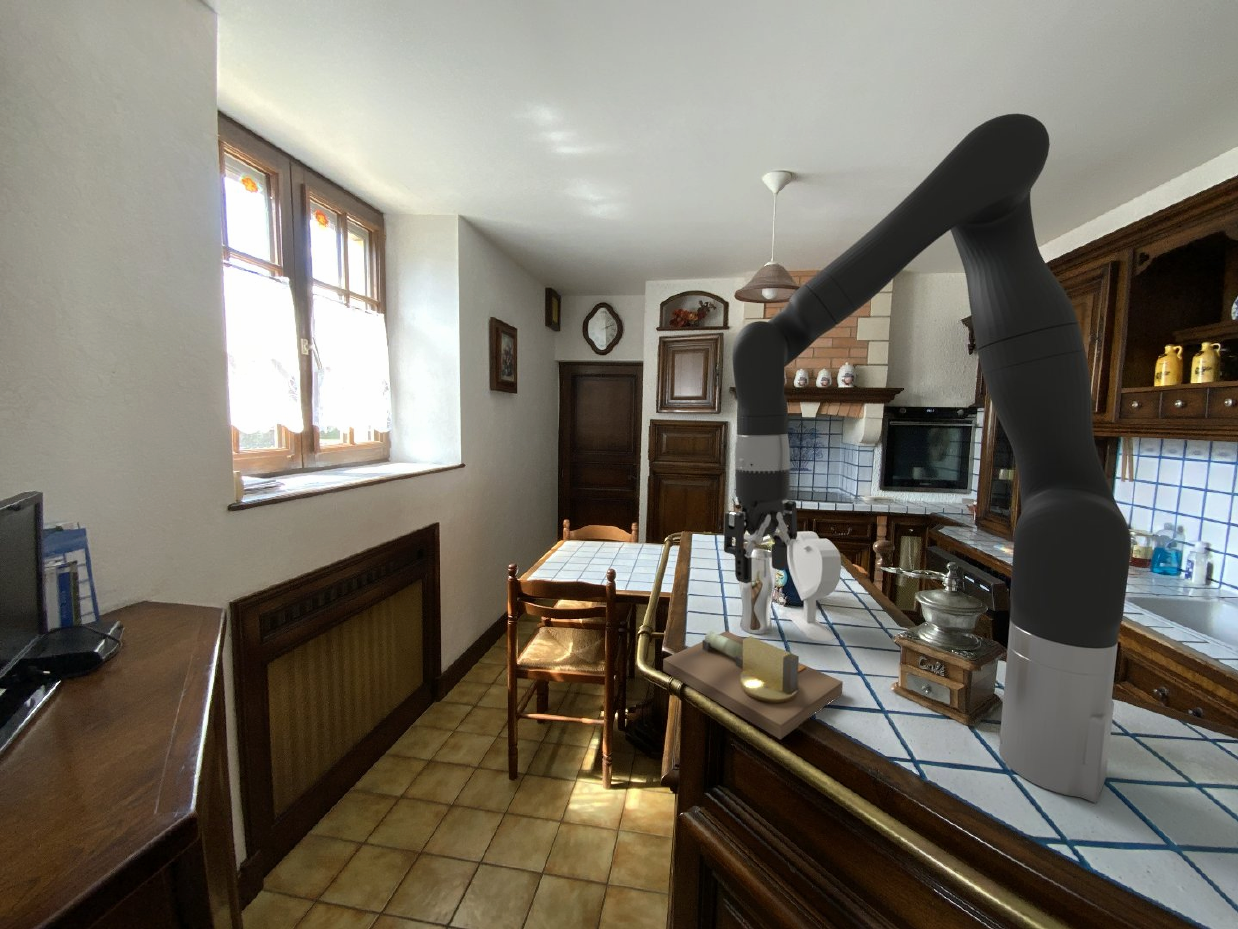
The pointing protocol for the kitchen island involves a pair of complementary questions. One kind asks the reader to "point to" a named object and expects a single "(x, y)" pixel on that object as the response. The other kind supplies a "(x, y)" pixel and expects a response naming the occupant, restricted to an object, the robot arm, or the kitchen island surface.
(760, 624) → the beer glass
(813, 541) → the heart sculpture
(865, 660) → the kitchen island surface
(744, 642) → the wing knob
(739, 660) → the knob and handle board
